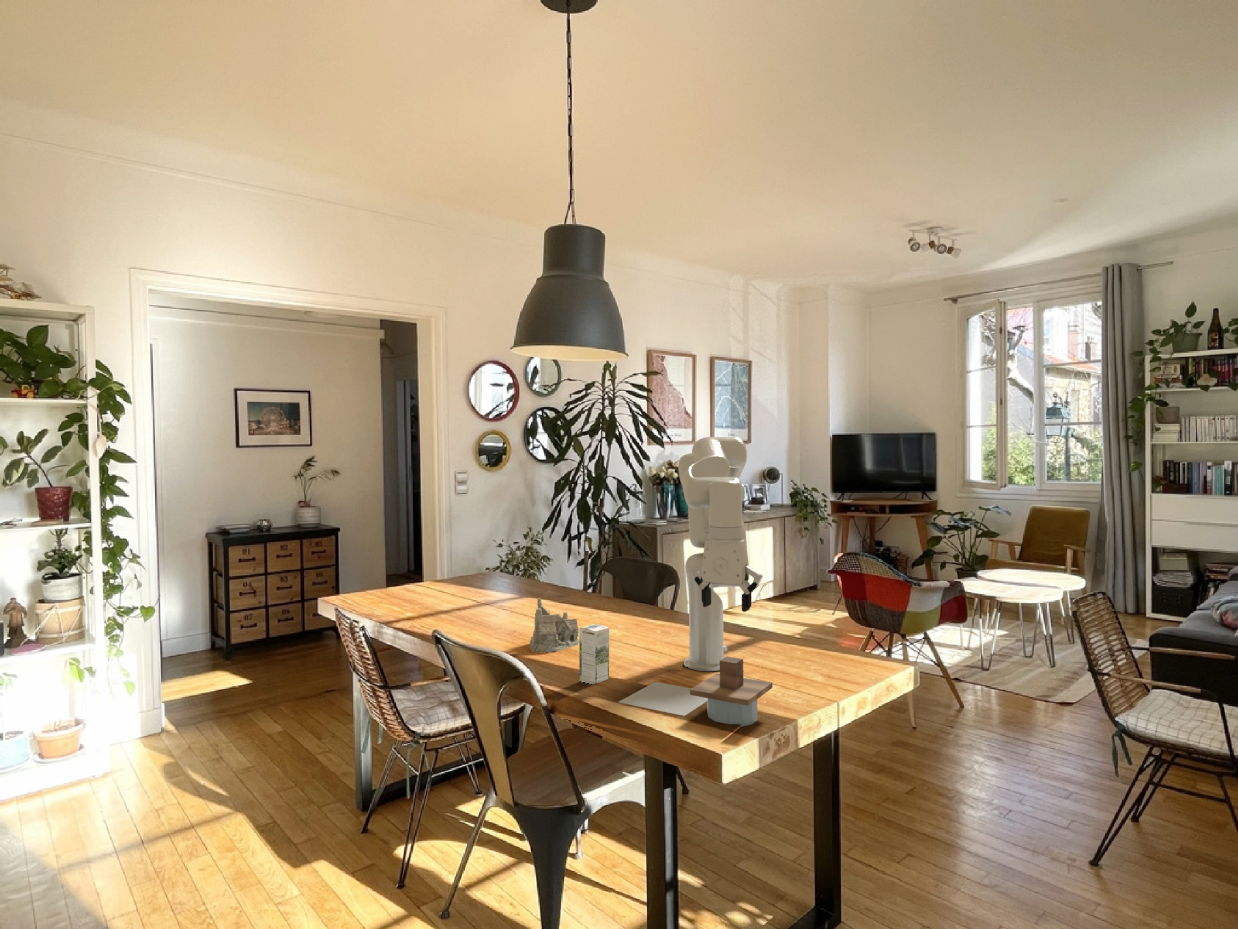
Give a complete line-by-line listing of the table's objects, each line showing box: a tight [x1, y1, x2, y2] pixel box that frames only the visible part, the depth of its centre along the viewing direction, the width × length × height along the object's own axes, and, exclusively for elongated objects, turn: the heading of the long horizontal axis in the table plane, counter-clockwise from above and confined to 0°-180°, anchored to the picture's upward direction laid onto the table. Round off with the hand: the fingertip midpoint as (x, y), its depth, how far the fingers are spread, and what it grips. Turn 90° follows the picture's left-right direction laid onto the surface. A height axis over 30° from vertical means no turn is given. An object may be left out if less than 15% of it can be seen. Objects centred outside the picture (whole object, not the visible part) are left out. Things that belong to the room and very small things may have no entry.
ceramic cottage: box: [529, 597, 579, 653], centre depth 235 cm, size 16×16×15 cm
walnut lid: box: [690, 656, 773, 706], centre depth 170 cm, size 14×14×7 cm
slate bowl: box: [706, 698, 758, 728], centre depth 171 cm, size 11×11×6 cm
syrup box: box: [578, 623, 610, 685], centre depth 198 cm, size 6×6×14 cm
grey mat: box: [617, 681, 707, 717], centre depth 183 cm, size 18×18×1 cm
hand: (726, 608), depth 172 cm, fingers open, 9 cm apart
